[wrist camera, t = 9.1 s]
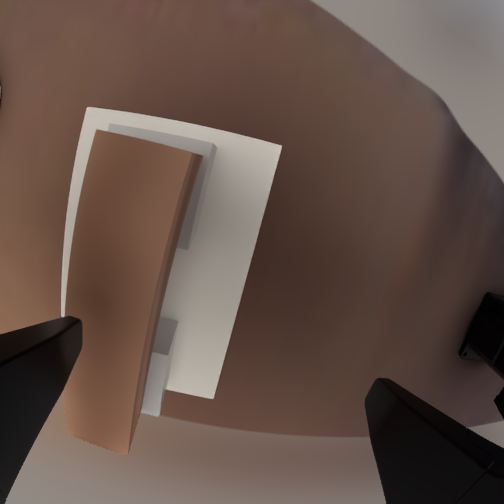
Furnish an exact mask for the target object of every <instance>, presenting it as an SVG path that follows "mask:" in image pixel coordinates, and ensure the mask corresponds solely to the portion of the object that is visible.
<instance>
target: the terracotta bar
mask: <svg viewBox="0 0 504 504" xmlns="http://www.w3.org/2000/svg"><path fill="white" fill-rule="evenodd" d="M202 158H203V155H200V154H196V153H192V152H189V151H185V150H182V149H178V148H174V147H171V146H167V145H163V144H159V143H155V142H151V141H147V140H143V139H139V138H135V137H131V136H127V135H122V134H118V133H113V132H108V131H103V130H98V129H96V132H95V135H94V139H93V143H92V146H91V150H90V154H89V158H88V162H87V166H86V170H85V174H84V179H83V183H82V188H81V193H80V198H79V203H78V208H77V213H76V219H75V225H74V231H73V238H72V245H71V252H70V260H69V268H68V278H67V288H66V301H65V316H73V317H76V318H79V319H81V321H82V325H83V344H82V349H81V352H80V354H79V356H78V358H77V361H76V363H75V365H74V367H73V369H72V372H71V374H70V376H69V379H68V381H67V383H66V385H65V388H64V396H65V410H66V411H65V412H66V424H67V434H69V435H71V436H74V437H76V438H79V439H82V440H84V441H87V442H89V443H92V444H95V445H97V446H100V447H103V448H106V449H109V450H111V451H115V452H118V453H121V454H124V455H128V453H129V449H130V446H131V443H132V439H133V436H134V432H135V429H136V426H137V422H138V419H139V416H140V413H141V409H142V404H143V398H144V393H145V387H146V382H147V376H148V371H149V366H150V361H151V356H152V351H153V346H154V341H155V336H156V332H157V327H158V322H159V318H160V314H161V309H162V305H163V300H164V296H165V292H166V288H167V284H168V280H169V275H170V271H171V267H172V264H173V260H174V256H175V252H176V248H177V244H178V241H179V237H180V233H181V229H182V226H183V222H184V219H185V215H186V212H187V208H188V205H189V201H190V198H191V194H192V191H193V187H194V184H195V181H196V178H197V174H198V171H199V168H200V165H201V161H202Z"/></svg>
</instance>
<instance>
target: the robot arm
mask: <svg viewBox="0 0 504 504" xmlns="http://www.w3.org/2000/svg"><path fill="white" fill-rule="evenodd" d="M82 344H83V325H82V321H81V319H79V318H76V317H73V316H65V317H62V318H58V319H55V320H51V321H47V322H44V323H40V324H37V325H33V326H29V327H26V328H22V329H18V330H15V331H11V332H7V333H4V334H0V504H5V502H6V498H7V496H8V494H9V492H10V490H11V488H12V486H13V483H14V481H15V479H16V477H17V475H18V473H19V471H20V469H21V467H22V465H23V463H24V461H25V459H26V457H27V455H28V453H29V451H30V449H31V447H32V445H33V443H34V441H35V440H36V438H37V436H38V434H39V432H40V430H41V429H42V427H43V425H44V423H45V421H46V420H47V418H48V416H49V414H50V412H51V411H52V409H53V407H54V405H55V403H56V402H57V400H58V398H59V397H60V395H61V393H62V391H63V390H64V388H65V385H66V383H67V381H68V379H69V376H70V374H71V372H72V369H73V367H74V365H75V363H76V361H77V358H78V356H79V354H80V352H81V349H82ZM459 356H460V357H461V358H462V359H473V360H483V361H484V362H485V363H486V364H487V365H488V366H489V367H491V368H492V369H493V370H494V371H495V372H496V373H497V374H498V375H499V376H500V377H501V378H502V379H503V380H504V297H503V296H500V295H496V294H493V293H487V295H486V296H485V298H484V301H483V303H482V305H481V308H480V310H479V312H478V315H477V317H476V319H475V321H474V323H473V326H472V328H471V330H470V332H469V334H468V336H467V338H466V340H465V342H464V344H463V346H462V348H461V350H460V352H459ZM494 402H495V404H496V406H497V408H498V410H499V412H500V413H501V415H502V417H503V419H504V387H503V388H502V390H501V392H500V393H499V395H497V396H496V398H495V399H494ZM365 409H366V415H367V421H368V428H369V434H370V439H371V445H372V449H373V452H374V456H375V460H376V464H377V468H378V472H379V475H380V479H381V483H382V487H383V491H384V496H385V500H386V504H504V448H502V447H500V446H498V445H496V444H494V443H493V442H491V441H489V440H487V439H485V438H483V437H482V436H480V435H478V434H477V433H475V432H473V431H471V430H470V429H468V428H467V429H466V427H465V426H463V425H462V424H460V423H458V422H457V421H455V420H454V419H452V418H450V417H449V416H447V415H445V414H444V413H442V412H441V411H439V410H437V409H436V408H434V407H433V406H431V405H429V404H428V403H426V402H425V401H423V400H422V399H420V398H418V397H417V396H415V395H414V394H412V393H411V392H409V391H407V390H406V389H404V388H403V387H401V386H400V385H398V384H396V383H395V382H393V381H392V380H390V379H388V378H377V379H376V380H375V381H374V383H373V385H372V387H371V389H370V390H369V392H368V394H367V396H366V398H365Z"/></svg>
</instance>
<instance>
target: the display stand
mask: <svg viewBox="0 0 504 504" xmlns="http://www.w3.org/2000/svg"><path fill="white" fill-rule="evenodd" d="M96 129H98V130H103V131H108V132H113V133H118V134H122V135H127V136H131V137H135V138H139V139H143V140H147V141H151V142H155V143H159V144H163V145H167V146H171V147H174V148H178V149H182V150H185V151H189V152H192V153H196V154H200V155H203V158H202V161H201V165H200V168H199V171H198V174H197V178H196V181H195V184H194V187H193V191H192V194H191V198H190V201H189V205H188V208H187V212H186V215H185V219H184V222H183V226H182V229H181V233H180V237H179V241H178V244H177V248H176V252H175V256H174V260H173V264H172V267H171V271H170V275H169V280H168V284H167V288H166V292H165V296H164V300H163V305H162V309H161V314H160V318H159V322H158V327H157V332H156V336H155V341H154V346H153V351H152V356H151V361H150V366H149V371H148V376H147V382H146V387H145V393H144V398H143V404H142V409H141V413H145V414H149V415H153V416H157V417H159V416H160V411H161V407H162V403H163V399H164V395H165V391H166V389H167V390H172V391H176V392H181V393H185V394H190V395H195V396H200V397H205V398H210V399H213V398H214V395H215V391H216V387H217V384H218V380H219V376H220V373H221V369H222V365H223V362H224V358H225V354H226V351H227V347H228V343H229V340H230V336H231V332H232V329H233V325H234V321H235V318H236V314H237V310H238V307H239V303H240V299H241V296H242V292H243V288H244V285H245V281H246V277H247V274H248V270H249V266H250V263H251V259H252V255H253V252H254V248H255V244H256V241H257V237H258V233H259V229H260V226H261V222H262V218H263V215H264V211H265V207H266V204H267V200H268V196H269V193H270V189H271V185H272V182H273V178H274V174H275V170H276V167H277V163H278V159H279V156H280V152H281V148H282V146H281V145H277V144H274V143H270V142H266V141H262V140H259V139H255V138H251V137H247V136H243V135H239V134H235V133H231V132H227V131H222V130H218V129H214V128H209V127H205V126H200V125H195V124H191V123H186V122H181V121H176V120H170V119H165V118H160V117H154V116H148V115H142V114H136V113H129V112H123V111H116V110H109V109H101V108H93V107H87V110H86V114H85V118H84V122H83V126H82V130H81V134H80V139H79V144H78V148H77V153H76V158H75V164H74V169H73V175H72V181H71V187H70V194H69V201H68V208H67V217H66V226H65V236H64V248H63V263H62V286H61V318H62V317H65V301H66V288H67V278H68V268H69V260H70V252H71V245H72V238H73V231H74V225H75V219H76V213H77V208H78V203H79V198H80V193H81V188H82V183H83V179H84V174H85V170H86V166H87V162H88V158H89V154H90V150H91V146H92V143H93V139H94V135H95V132H96Z"/></svg>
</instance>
